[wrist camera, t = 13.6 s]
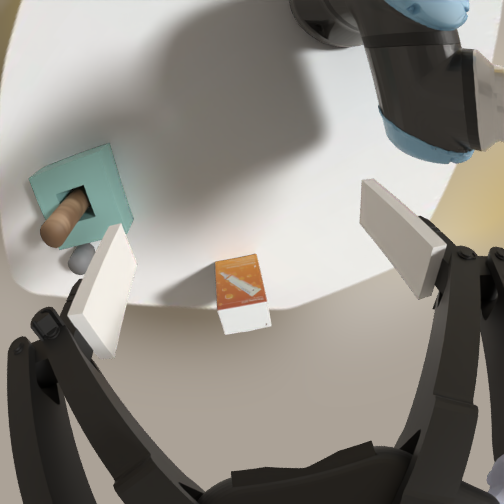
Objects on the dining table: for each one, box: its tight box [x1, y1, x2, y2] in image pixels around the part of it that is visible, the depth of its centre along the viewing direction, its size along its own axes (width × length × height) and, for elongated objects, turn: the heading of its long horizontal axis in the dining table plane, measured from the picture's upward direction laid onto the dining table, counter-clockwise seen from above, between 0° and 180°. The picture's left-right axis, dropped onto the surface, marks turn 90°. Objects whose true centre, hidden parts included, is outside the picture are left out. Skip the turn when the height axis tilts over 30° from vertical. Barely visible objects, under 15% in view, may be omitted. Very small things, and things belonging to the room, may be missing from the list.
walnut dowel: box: [40, 185, 91, 248], centre depth 38 cm, size 4×4×14 cm
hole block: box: [29, 143, 134, 250], centre depth 42 cm, size 14×14×5 cm
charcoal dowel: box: [68, 243, 95, 275], centre depth 48 cm, size 4×4×5 cm
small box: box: [215, 254, 271, 335], centre depth 52 cm, size 8×6×13 cm
